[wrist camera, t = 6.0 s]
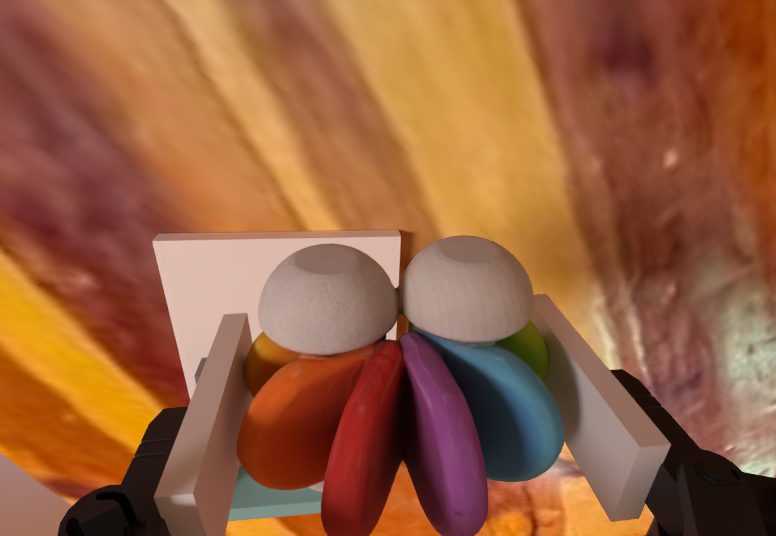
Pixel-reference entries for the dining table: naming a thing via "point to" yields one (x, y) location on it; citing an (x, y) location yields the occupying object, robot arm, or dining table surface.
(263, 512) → the board
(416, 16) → the dining table surface
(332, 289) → the multicolored rounded lobe cluster
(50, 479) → the dining table surface
